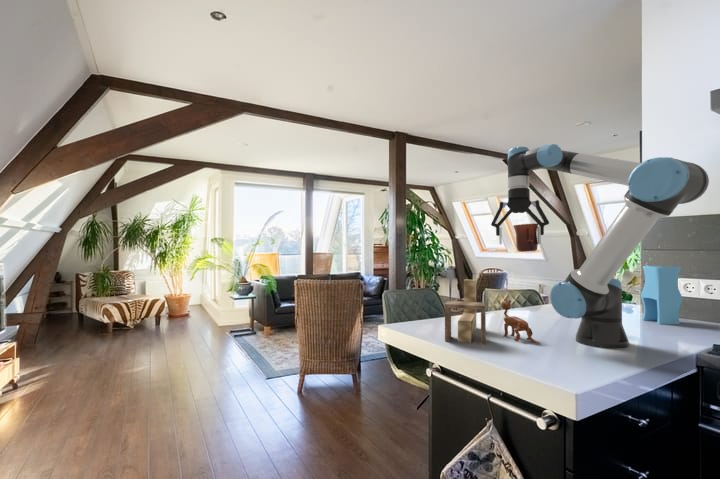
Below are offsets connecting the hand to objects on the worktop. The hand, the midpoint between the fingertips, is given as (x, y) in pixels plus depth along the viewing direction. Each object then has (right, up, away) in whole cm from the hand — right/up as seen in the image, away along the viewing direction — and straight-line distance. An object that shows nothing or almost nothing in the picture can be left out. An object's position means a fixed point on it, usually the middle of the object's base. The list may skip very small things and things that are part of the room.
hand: (519, 244), depth 138 cm
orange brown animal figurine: (-3, -35, -8) cm, 36 cm away
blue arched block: (+70, -35, +19) cm, 81 cm away
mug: (+3, -3, -1) cm, 4 cm away
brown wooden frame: (-23, -34, -8) cm, 42 cm away
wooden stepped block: (-19, -35, +2) cm, 40 cm away
